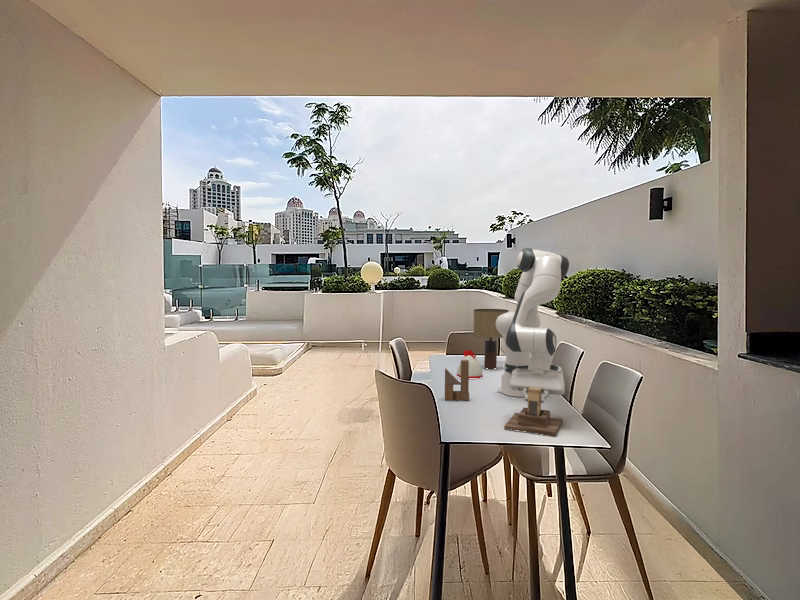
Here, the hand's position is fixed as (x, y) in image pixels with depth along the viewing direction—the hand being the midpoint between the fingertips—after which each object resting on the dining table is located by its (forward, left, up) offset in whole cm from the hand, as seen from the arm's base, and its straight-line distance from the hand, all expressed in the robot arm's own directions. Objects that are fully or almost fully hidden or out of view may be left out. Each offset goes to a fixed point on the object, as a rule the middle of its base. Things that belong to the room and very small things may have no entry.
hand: (534, 401), depth 182 cm
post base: (-1, 0, -10) cm, 10 cm away
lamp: (-104, -30, -10) cm, 108 cm away
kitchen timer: (-79, -38, -10) cm, 88 cm away
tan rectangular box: (-1, 0, -6) cm, 6 cm away
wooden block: (-29, -35, -10) cm, 46 cm away
